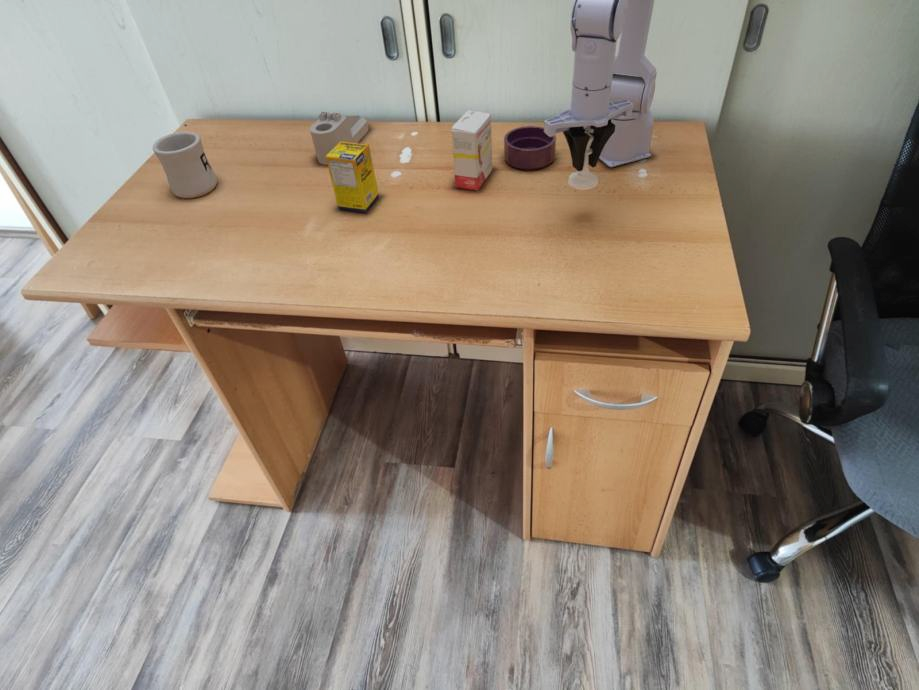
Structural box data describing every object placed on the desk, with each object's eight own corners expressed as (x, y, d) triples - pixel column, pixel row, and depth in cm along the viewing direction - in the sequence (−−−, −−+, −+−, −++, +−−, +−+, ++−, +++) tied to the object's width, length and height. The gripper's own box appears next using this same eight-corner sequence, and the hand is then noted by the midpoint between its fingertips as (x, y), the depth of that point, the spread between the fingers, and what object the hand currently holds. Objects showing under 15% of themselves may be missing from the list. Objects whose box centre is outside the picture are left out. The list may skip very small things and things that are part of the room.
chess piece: (590, 192, 96) (597, 134, 89) (563, 185, 98) (567, 128, 91) (602, 178, 99) (609, 121, 92) (575, 172, 101) (580, 115, 94)
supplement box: (379, 196, 112) (369, 143, 105) (366, 213, 108) (355, 159, 101) (351, 193, 114) (340, 140, 106) (337, 209, 110) (324, 156, 102)
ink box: (477, 191, 111) (475, 132, 103) (454, 187, 113) (449, 129, 104) (493, 169, 117) (492, 111, 108) (470, 166, 118) (467, 108, 110)
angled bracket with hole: (371, 126, 134) (364, 91, 128) (337, 165, 122) (328, 129, 116) (348, 125, 135) (341, 90, 129) (313, 163, 123) (303, 127, 118)
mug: (221, 192, 117) (202, 145, 110) (174, 204, 115) (152, 157, 108) (214, 165, 125) (196, 120, 118) (170, 176, 123) (149, 131, 116)
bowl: (540, 142, 123) (541, 121, 120) (563, 163, 117) (565, 142, 113) (496, 153, 121) (495, 133, 118) (517, 176, 114) (517, 154, 111)
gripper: (561, 103, 82) (556, 188, 92) (649, 81, 85) (635, 166, 95) (538, 86, 87) (536, 168, 97) (622, 65, 90) (612, 148, 100)
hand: (584, 166), depth 96 cm, fingers closed on chess piece
